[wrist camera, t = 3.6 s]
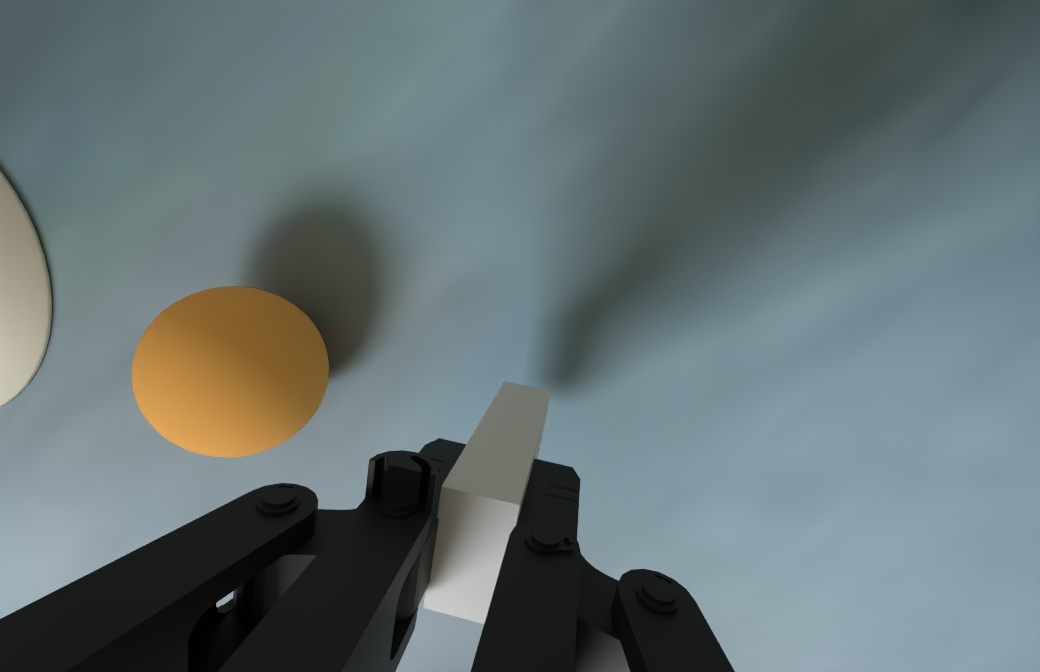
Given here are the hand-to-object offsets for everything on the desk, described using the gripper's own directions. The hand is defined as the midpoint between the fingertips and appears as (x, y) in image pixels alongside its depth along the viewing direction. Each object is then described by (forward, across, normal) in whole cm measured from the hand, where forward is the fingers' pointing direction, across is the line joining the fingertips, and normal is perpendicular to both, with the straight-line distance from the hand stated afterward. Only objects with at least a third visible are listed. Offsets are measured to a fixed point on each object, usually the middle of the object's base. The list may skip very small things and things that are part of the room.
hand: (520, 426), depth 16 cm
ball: (0, +9, 0) cm, 9 cm away
